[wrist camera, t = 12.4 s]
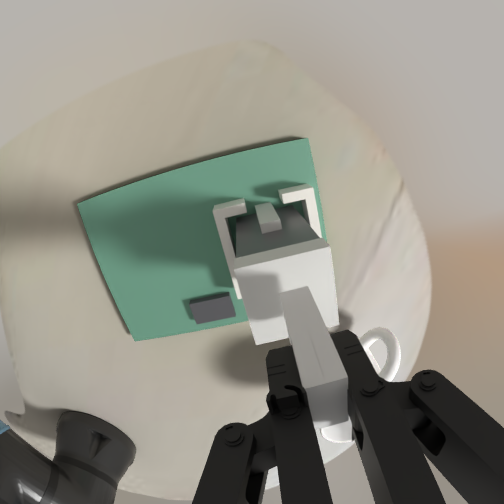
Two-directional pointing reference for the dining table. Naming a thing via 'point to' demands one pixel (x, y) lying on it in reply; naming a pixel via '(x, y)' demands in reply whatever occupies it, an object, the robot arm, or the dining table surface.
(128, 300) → the board
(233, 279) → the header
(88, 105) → the dining table surface
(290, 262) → the plug
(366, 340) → the mug
